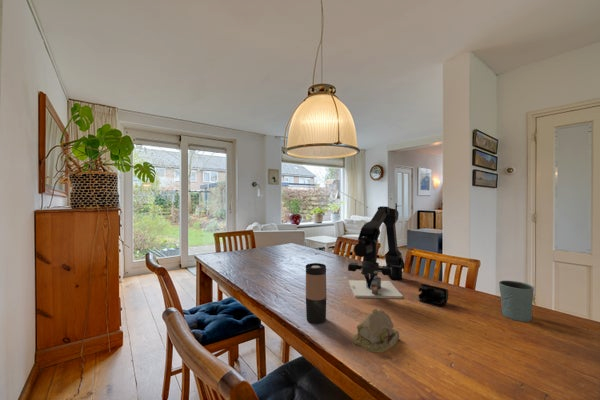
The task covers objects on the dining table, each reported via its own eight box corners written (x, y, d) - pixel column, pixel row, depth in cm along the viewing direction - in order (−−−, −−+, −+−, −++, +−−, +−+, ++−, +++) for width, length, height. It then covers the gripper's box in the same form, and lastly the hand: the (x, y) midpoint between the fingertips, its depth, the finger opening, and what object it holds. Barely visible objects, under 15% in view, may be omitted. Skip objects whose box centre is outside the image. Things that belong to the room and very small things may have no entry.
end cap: (448, 303, 110) (448, 287, 110) (442, 308, 105) (442, 291, 105) (424, 296, 117) (424, 281, 117) (417, 301, 112) (417, 285, 112)
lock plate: (389, 282, 136) (389, 280, 136) (402, 298, 115) (402, 295, 115) (348, 282, 137) (348, 279, 137) (355, 297, 116) (355, 294, 116)
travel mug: (328, 316, 98) (328, 263, 98) (323, 326, 91) (323, 269, 91) (309, 313, 101) (308, 262, 100) (303, 322, 93) (302, 267, 93)
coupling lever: (365, 284, 130) (365, 273, 130) (380, 285, 129) (380, 274, 129) (366, 295, 115) (366, 284, 115) (383, 297, 113) (383, 285, 113)
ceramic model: (373, 357, 73) (372, 322, 73) (346, 339, 83) (346, 307, 83) (405, 343, 80) (405, 311, 80) (378, 327, 90) (377, 298, 90)
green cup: (525, 325, 91) (525, 291, 91) (493, 313, 100) (493, 282, 100) (539, 318, 95) (539, 286, 95) (506, 308, 104) (507, 278, 104)
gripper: (345, 254, 113) (345, 290, 113) (391, 259, 106) (390, 297, 106) (350, 250, 123) (349, 282, 123) (392, 253, 116) (391, 288, 116)
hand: (369, 287), depth 117 cm, fingers closed
